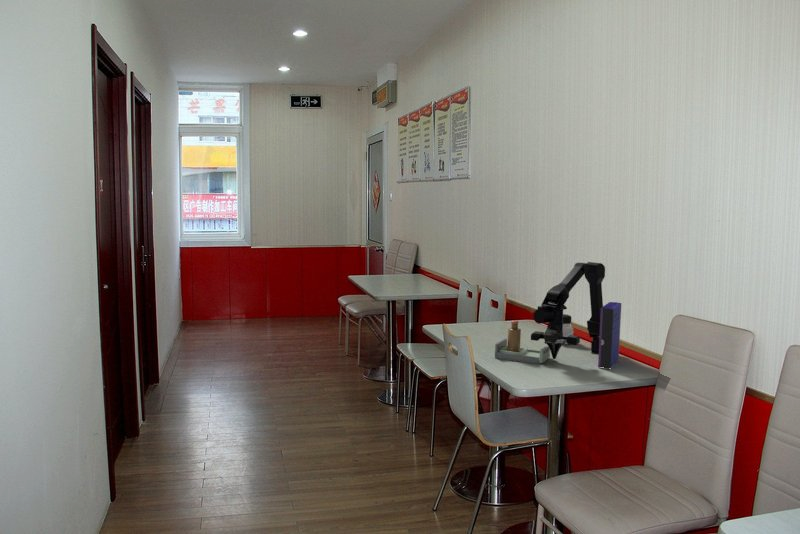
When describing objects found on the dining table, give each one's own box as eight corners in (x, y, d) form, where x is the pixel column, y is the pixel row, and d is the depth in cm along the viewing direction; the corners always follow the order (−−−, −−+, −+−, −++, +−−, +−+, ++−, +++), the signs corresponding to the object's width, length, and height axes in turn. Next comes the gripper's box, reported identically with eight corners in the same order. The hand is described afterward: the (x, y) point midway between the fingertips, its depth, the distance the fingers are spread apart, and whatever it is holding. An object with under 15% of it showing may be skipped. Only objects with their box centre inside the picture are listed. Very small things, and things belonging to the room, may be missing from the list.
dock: (546, 357, 284) (547, 343, 284) (538, 363, 274) (538, 349, 273) (504, 352, 293) (505, 338, 292) (494, 358, 282) (495, 343, 281)
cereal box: (606, 358, 284) (609, 301, 282) (618, 360, 282) (621, 302, 280) (598, 367, 269) (600, 307, 266) (610, 369, 267) (613, 308, 264)
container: (570, 341, 317) (571, 313, 315) (572, 345, 309) (574, 316, 307) (553, 340, 317) (554, 313, 316) (555, 344, 310) (556, 316, 308)
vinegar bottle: (518, 351, 287) (520, 320, 286) (520, 354, 282) (522, 322, 281) (506, 350, 287) (507, 319, 286) (508, 353, 282) (509, 322, 281)
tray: (550, 357, 283) (550, 345, 283) (542, 363, 273) (542, 350, 273) (507, 351, 292) (507, 339, 291) (497, 357, 282) (498, 345, 281)
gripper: (526, 321, 272) (525, 360, 274) (573, 326, 264) (572, 366, 265) (535, 317, 282) (534, 354, 284) (580, 321, 273) (579, 360, 275)
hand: (554, 358), depth 277 cm, fingers closed
